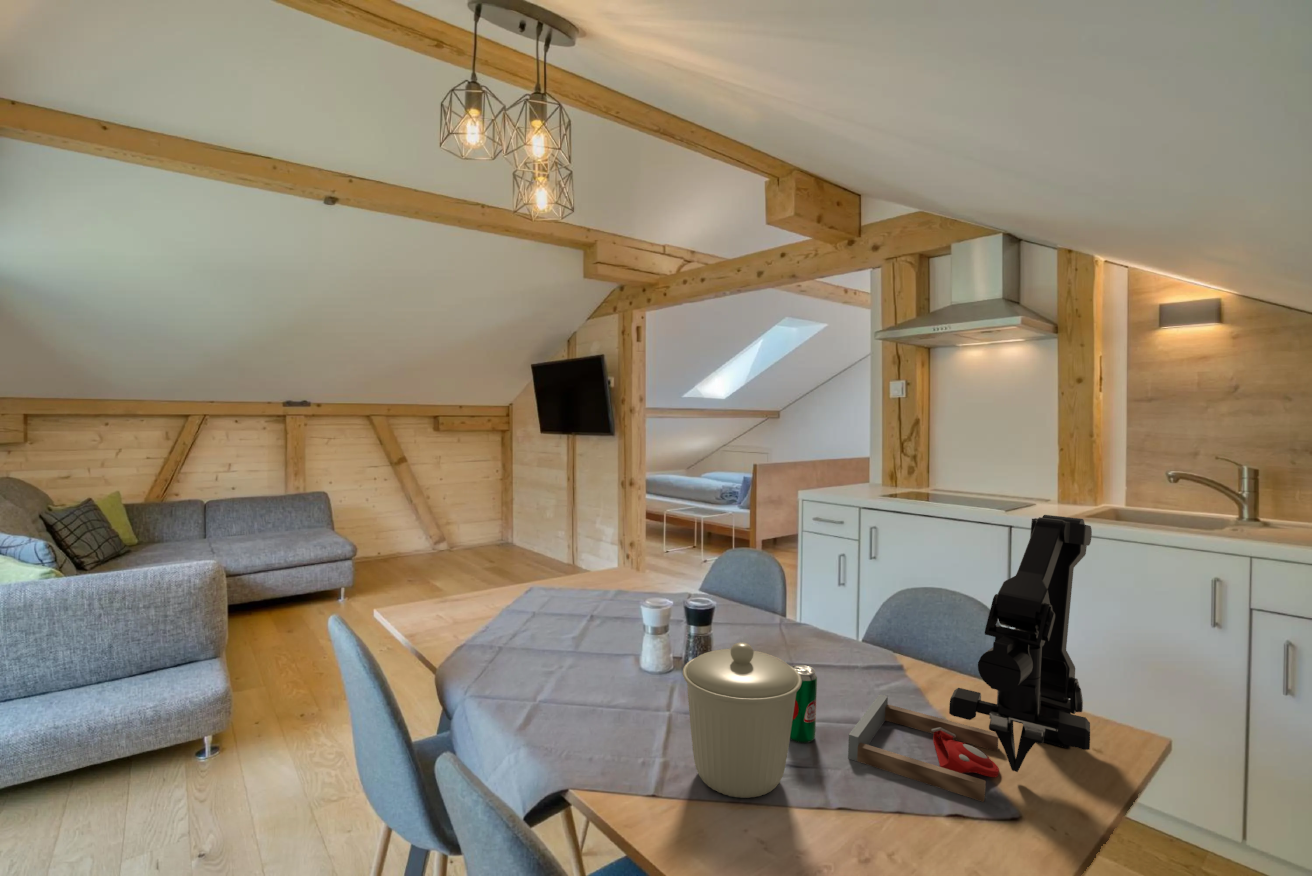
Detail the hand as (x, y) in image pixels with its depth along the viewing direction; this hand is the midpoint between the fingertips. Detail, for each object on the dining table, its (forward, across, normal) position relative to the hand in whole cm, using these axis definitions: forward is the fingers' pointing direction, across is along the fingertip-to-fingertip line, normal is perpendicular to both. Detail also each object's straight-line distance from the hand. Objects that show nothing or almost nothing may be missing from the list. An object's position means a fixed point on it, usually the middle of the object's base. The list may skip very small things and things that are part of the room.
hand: (1015, 770), depth 99 cm
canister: (+2, +35, +26) cm, 44 cm away
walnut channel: (+2, +13, 0) cm, 13 cm away
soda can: (+2, +32, +8) cm, 33 cm away
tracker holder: (+2, +8, -1) cm, 8 cm away
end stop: (+2, +22, 0) cm, 23 cm away
